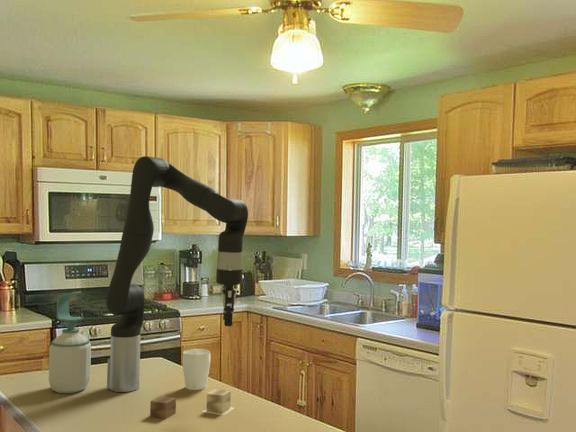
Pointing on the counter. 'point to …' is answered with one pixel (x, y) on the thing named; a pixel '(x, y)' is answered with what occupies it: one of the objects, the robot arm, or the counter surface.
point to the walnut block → (162, 407)
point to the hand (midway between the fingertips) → (227, 323)
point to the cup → (196, 368)
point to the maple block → (218, 400)
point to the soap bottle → (69, 353)
